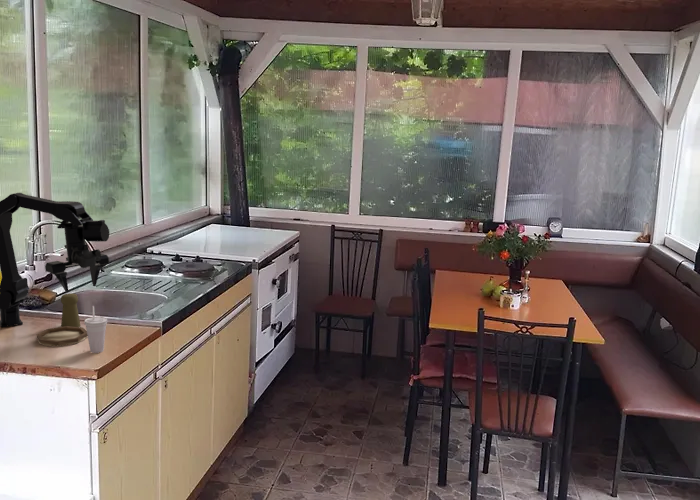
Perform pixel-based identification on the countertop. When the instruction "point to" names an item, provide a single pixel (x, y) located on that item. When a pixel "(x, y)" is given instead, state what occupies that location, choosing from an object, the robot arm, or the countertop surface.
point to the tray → (62, 336)
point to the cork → (70, 310)
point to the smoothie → (96, 332)
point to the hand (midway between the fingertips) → (80, 289)
